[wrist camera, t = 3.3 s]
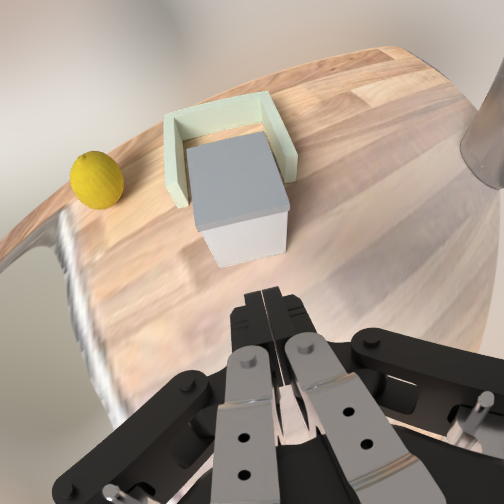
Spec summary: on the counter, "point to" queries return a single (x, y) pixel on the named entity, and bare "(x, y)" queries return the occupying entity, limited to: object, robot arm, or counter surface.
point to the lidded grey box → (238, 199)
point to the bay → (220, 119)
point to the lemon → (96, 180)
